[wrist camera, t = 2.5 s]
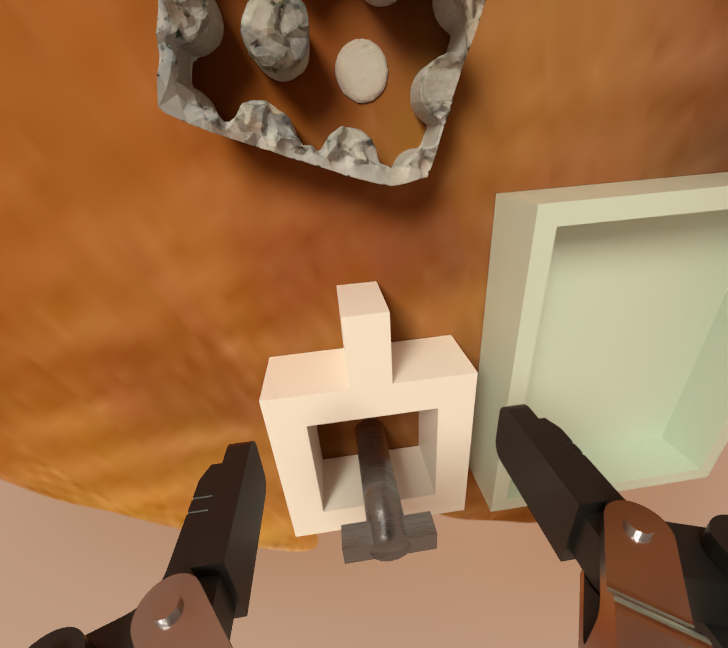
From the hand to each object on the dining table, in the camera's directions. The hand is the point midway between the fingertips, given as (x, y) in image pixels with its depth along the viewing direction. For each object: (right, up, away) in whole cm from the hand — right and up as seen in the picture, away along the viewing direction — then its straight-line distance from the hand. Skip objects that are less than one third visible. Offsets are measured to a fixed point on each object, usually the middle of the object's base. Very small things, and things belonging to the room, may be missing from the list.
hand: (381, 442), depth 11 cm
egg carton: (-2, +15, +4) cm, 15 cm away
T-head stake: (0, -3, +13) cm, 13 cm away
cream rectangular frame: (0, -1, +11) cm, 11 cm away
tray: (+15, +3, +11) cm, 19 cm away
